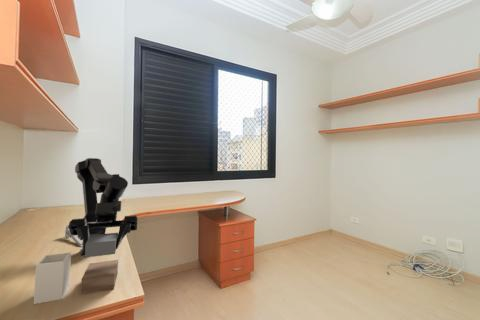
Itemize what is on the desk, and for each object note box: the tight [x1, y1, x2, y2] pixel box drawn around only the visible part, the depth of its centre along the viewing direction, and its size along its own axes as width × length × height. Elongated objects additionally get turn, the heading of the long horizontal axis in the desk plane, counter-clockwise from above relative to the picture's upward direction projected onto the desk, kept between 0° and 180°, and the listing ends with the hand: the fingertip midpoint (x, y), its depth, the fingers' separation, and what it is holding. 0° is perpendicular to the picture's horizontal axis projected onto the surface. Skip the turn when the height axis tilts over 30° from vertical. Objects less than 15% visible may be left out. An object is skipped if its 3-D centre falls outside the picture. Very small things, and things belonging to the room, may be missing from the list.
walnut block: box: [80, 259, 119, 296], centre depth 66 cm, size 10×8×4 cm
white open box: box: [33, 252, 72, 305], centre depth 59 cm, size 6×6×10 cm
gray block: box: [84, 232, 119, 259], centre depth 66 cm, size 8×7×4 cm
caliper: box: [64, 224, 83, 248], centre depth 99 cm, size 20×1×6 cm, turn 55°
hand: (101, 250), depth 65 cm, fingers closed on gray block, 7 cm apart
